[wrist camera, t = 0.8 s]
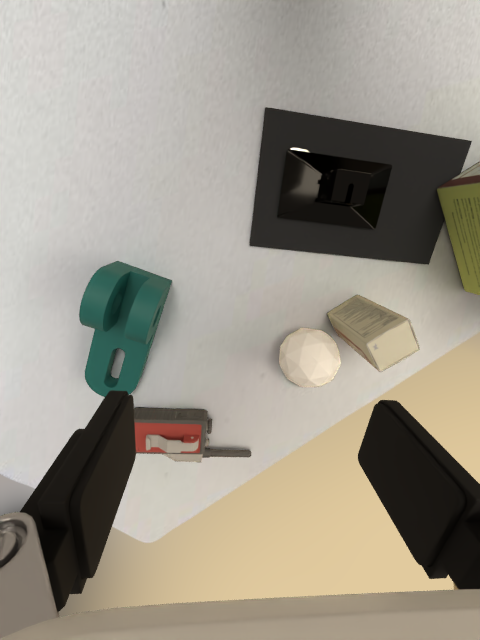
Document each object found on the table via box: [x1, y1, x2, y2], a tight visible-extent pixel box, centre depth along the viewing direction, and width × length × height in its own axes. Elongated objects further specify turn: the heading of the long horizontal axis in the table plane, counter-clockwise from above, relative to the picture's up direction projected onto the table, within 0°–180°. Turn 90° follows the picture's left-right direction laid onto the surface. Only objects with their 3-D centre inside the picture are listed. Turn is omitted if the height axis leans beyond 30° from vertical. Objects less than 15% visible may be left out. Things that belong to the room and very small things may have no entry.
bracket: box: [79, 261, 172, 397], centre depth 31 cm, size 18×7×8 cm, turn 158°
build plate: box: [277, 148, 392, 229], centre depth 28 cm, size 12×7×5 cm, turn 84°
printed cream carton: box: [327, 295, 420, 372], centre depth 32 cm, size 5×4×10 cm
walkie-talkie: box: [134, 407, 251, 462], centre depth 39 cm, size 9×4×20 cm
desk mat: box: [250, 107, 472, 264], centre depth 31 cm, size 14×24×1 cm, turn 84°
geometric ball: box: [279, 328, 341, 387], centre depth 34 cm, size 8×8×8 cm
